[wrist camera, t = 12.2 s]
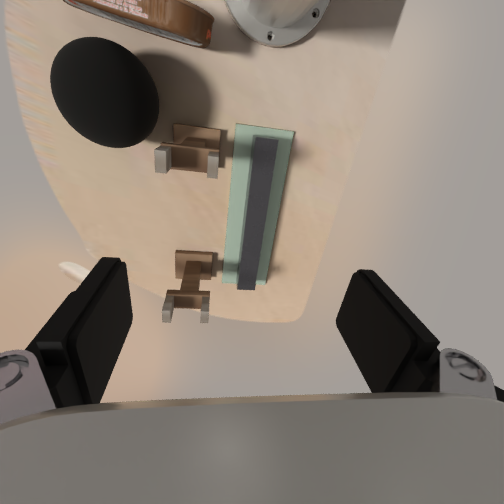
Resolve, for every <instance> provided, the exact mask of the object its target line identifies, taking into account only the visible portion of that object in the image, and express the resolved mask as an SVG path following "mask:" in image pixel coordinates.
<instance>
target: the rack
mask: <svg viewBox="0 0 504 504" xmlns="http://www.w3.org/2000/svg"><path fill="white" fill-rule="evenodd" d="M173 131H174V144H173V143H165V142H162V143H161V146H159V147H158V148H156V149H155V150H154V154H155V172H157V173H167V172H168V171H169V170H170V169H176V170H185V171H194V172H204V173H207V178H215V179H217V178H218V162H219V146H220V130H219V129H212V128H204V127H197V126H189V125H182V124H173ZM212 254H213V252H198V251H181V250H176V252H175V272H176V278H177V279H182V284H181V289H180V290H167V293H166V298H165V302H164V305H163V309H162V320H163V322H168V323H170V322H171V318H172V314H173V310H174V308H191V309H201V322H200V323H208V316H209V299H210V291H199V284H200V279H201V280H211V270H212Z"/></svg>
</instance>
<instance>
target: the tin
mask: <svg viewBox="0 0 504 504" xmlns="http://www.w3.org/2000/svg"><path fill="white" fill-rule="evenodd" d="M63 1H64V2H66V3H67V4H69V5H71V6H73V7H76V8H78V9H81V10H84V11H86V12H89V13H92V14H94V15H97V16H100V17H103V18H106V19H109V20H112V21H115V22H118V23H121V24H124V25H127V26H129V27H132V28H135V29H138V30H141V31H144V32H147V33H150V34H153V35H157V36H160V37H163V38H166V39H170V40H173V41H176V42H180V43H183V44H187V45H190V46H194V47H199V48H205V47H207V46H208V45H209V44H210V39H211V31H212V24H213V22H214V18H213V16H212V15H211V14H209V13H208V12H207V11H205V10H204V9H202V8H200V7H199V6H197V5H194V4H192V3H190V2H188V1H186V0H63Z"/></svg>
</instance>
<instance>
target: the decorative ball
mask: <svg viewBox="0 0 504 504" xmlns="http://www.w3.org/2000/svg"><path fill="white" fill-rule="evenodd" d="M50 82H51V89H52V94H53V97H54V100H55V102H56V105H57V107H58V109H59V110H60V112H61V114H62V115H63V117H64V118H65V119H66V121H67V122H68V123H69V124H70V125H71V126H72V127H73V128H74V129H75V130H76V131H77V132H78V133H80V134H81V135H82V136H84V137H85V138H87V139H89V140H91V141H92V142H95V143H97V144H100V145H103V146H106V147H112V148H125V147H130V146H133V145H136V144H138V143H140V142H142V141H143V140H144V139H145V138H147V137H148V136H149V135H150V133H151V132H152V130H153V129H154V127H155V125H156V122H157V119H158V114H159V99H158V93H157V90H156V86H155V84H154V81H153V79H152V77H151V75H150V74H149V72H148V70H147V69H146V68H145V66H144V65H143V64H142V62H141V61H140V60H139V59H138V58H137V57H136V56H135V55H134V54H132V53H131V52H130V51H129V50H127V49H126V48H124V47H123V46H121V45H119V44H117V43H115V42H113V41H110V40H107V39H103V38H98V37H84V38H79V39H76V40H73V41H71V42H69V43H68V44H66V45H65V46H64V47H63V48H62V49H61V50H60V51H59V52H58V54H57V55H56V57H55V59H54V61H53V64H52V68H51V75H50Z"/></svg>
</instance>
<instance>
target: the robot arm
mask: <svg viewBox="0 0 504 504" xmlns="http://www.w3.org/2000/svg"><path fill="white" fill-rule="evenodd" d="M224 1H225V3H226V6H227V9H228V11H229V13H230V15H231V16H232V18H233V20H234V22H235V23H236V24H237V26H238V27H239V28H240V29H241V30H242V32H243V33H245V34H246V35H247V36H248V37H249V38H251V39H252V40H254V41H256V42H258V43H260V44H262V45H266V46H270V47H282V46H286V45H290V44H292V43H294V42H296V41H298V40H300V39H301V38H303V37H304V36H306V35H307V34H308V33H309V32H310V31H311V30H312V29H313V28H314V27H315V26H316V25H317V23H318V22H319V21H320V19H321V18H322V16H323V14H324V12H325V10H326V8H327V7H328V5H329V2H330V0H224ZM312 13H315V18H313V16H312ZM268 35H270V36H271V38H272V39H271V40H268ZM132 319H133V314H132V306H131V299H130V291H129V283H128V276H127V268H126V263H125V262H121V260H120V258H112V257H102V258H101V259H100V260H99V261H98V263H97V264H96V265H95V267H94V268H93V269H92V271H91V272H90V273H89V274H88V276H87V277H86V278H85V279H84V281H83V282H82V283H81V285H80V286H79V287H78V288H77V290H76V291H74V292H71V293H70V294H69V295H68V296H67V298H66V299H65V300H64V302H63V303H62V304H61V305H60V307H59V308H58V309H57V310H56V312H55V313H54V314H53V315H52V317H51V318H50V319H49V320H48V322H47V323H46V324H45V325H44V327H43V328H42V329H41V330H40V331H39V333H38V334H37V335H36V336H35V338H34V339H33V340H32V341H31V343H30V344H29V345H28V347H27V348H26V349H25V350H12V351H6V352H3V353H0V504H504V390H502V389H500V388H498V387H496V386H494V383H493V379H492V376H491V374H490V372H489V371H488V370H487V369H486V367H485V366H483V365H482V364H481V363H480V362H479V361H478V360H476V359H475V358H473V357H472V356H470V355H468V354H466V353H464V352H462V351H459V350H456V349H451V348H447V349H443V350H442V351H441V352H440V351H439V350H438V349H437V346H438V345H439V343H440V341H439V340H438V339H437V338H436V337H435V336H434V335H433V334H432V333H431V332H430V331H429V329H427V327H426V326H425V325H424V324H423V323H422V322H421V321H420V320H419V319H418V318H417V317H416V315H415V314H413V312H412V311H411V310H410V309H409V308H408V307H407V306H406V305H405V304H404V303H403V302H402V300H401V299H399V297H398V296H397V295H396V294H395V293H394V292H393V291H392V290H391V289H390V288H389V287H388V285H387V284H386V283H385V282H384V281H383V280H382V279H381V278H380V277H379V276H378V275H377V274H376V273H375V272H374V271H373V270H362V269H360V270H358V271H357V272H356V273H354V274H353V275H352V278H351V280H350V283H349V286H348V288H347V291H346V294H345V297H344V299H343V302H342V304H341V307H340V310H339V312H338V315H337V318H336V325H337V328H338V330H339V331H340V333H341V335H342V337H343V339H344V341H345V343H346V345H347V347H348V348H349V350H350V352H351V354H352V356H353V358H354V360H355V362H356V363H357V365H358V367H359V369H360V371H361V373H362V375H363V377H364V379H365V381H366V382H367V384H368V386H369V388H370V390H371V392H372V393H350V394H316V395H283V396H253V397H225V398H201V399H200V398H198V399H175V400H173V399H172V400H151V401H133V402H132V401H131V402H114V403H100V401H101V399H102V396H103V394H104V391H105V389H106V386H107V384H108V381H109V379H110V376H111V374H112V371H113V369H114V366H115V364H116V361H117V359H118V356H119V354H120V352H121V349H122V347H123V344H124V342H125V339H126V337H127V334H128V332H129V329H130V327H131V324H132Z"/></svg>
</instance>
